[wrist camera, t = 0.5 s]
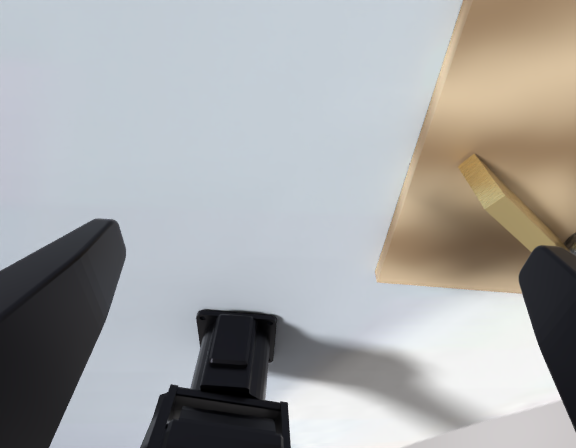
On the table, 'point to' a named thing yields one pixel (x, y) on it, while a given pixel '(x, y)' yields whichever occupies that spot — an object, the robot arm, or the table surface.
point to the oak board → (490, 147)
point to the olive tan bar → (507, 206)
